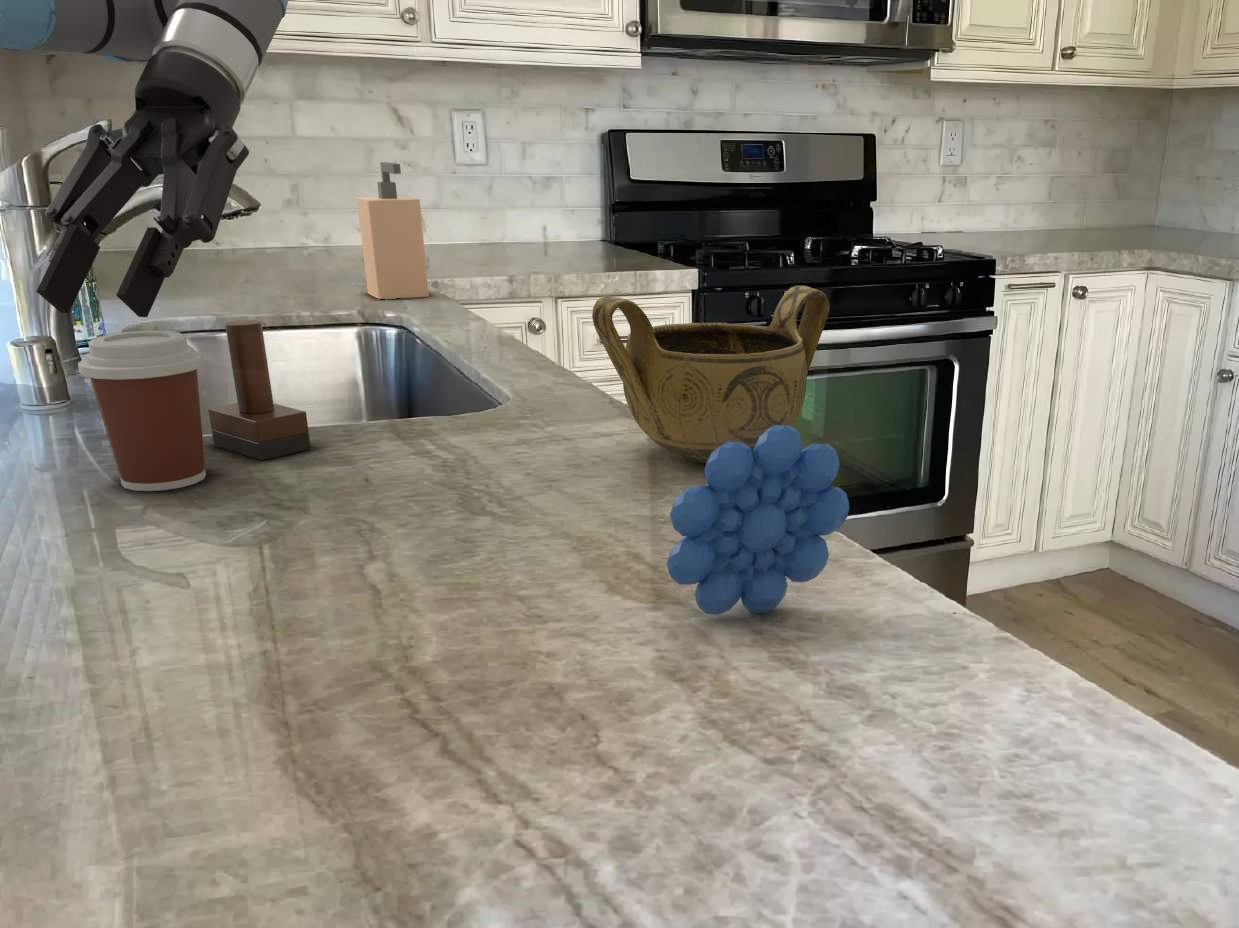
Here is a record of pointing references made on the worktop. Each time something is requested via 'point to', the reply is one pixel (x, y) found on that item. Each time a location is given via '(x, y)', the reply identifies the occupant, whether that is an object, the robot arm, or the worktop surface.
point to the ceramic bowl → (714, 372)
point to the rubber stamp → (255, 403)
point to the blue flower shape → (757, 521)
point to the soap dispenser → (392, 241)
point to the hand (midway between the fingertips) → (92, 303)
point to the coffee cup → (149, 406)
